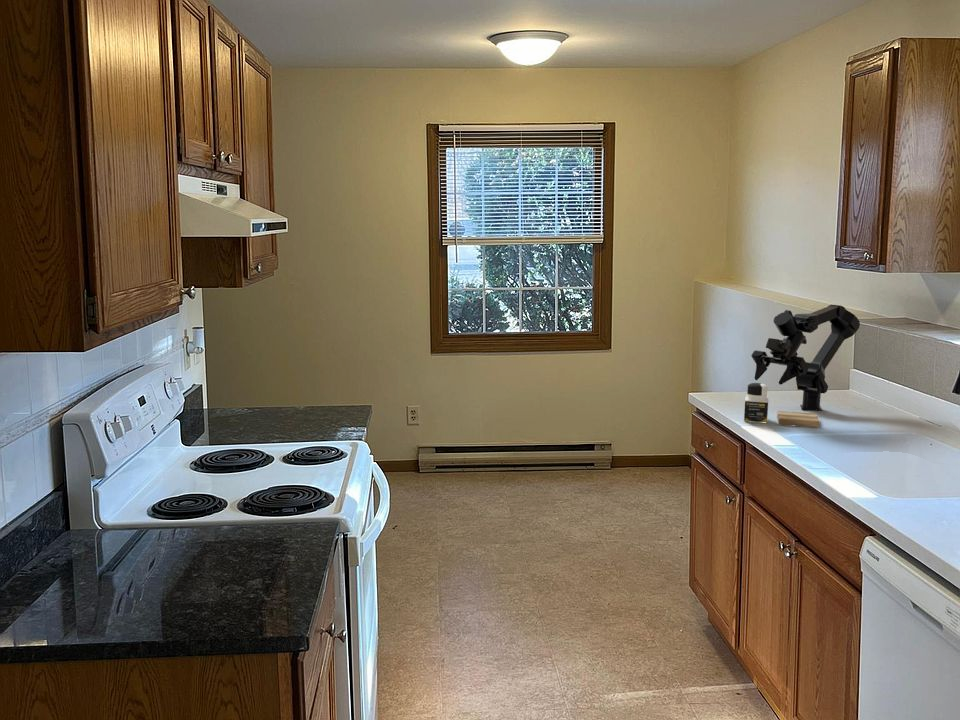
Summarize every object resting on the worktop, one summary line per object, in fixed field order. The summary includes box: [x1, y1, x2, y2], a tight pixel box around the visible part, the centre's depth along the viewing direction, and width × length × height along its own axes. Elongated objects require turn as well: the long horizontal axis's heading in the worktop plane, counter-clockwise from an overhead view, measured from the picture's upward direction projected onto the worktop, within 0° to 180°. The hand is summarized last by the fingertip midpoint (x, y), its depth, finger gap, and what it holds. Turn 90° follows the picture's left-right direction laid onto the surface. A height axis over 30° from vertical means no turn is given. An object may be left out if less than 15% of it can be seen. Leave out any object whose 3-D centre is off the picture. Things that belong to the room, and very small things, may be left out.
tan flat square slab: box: [776, 410, 820, 428], centre depth 306 cm, size 12×12×2 cm
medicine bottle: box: [743, 382, 769, 424], centre depth 307 cm, size 7×7×12 cm
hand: (767, 381), depth 309 cm, fingers open, 9 cm apart
